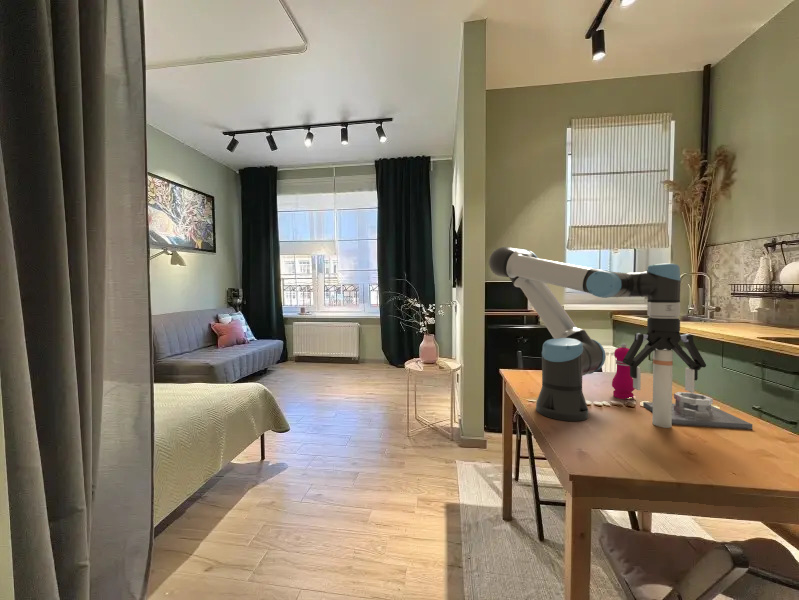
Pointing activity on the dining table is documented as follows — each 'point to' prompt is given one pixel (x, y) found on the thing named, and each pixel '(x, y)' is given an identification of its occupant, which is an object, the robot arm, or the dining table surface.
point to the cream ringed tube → (662, 388)
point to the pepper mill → (622, 375)
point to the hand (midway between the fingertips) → (662, 390)
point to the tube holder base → (700, 412)
